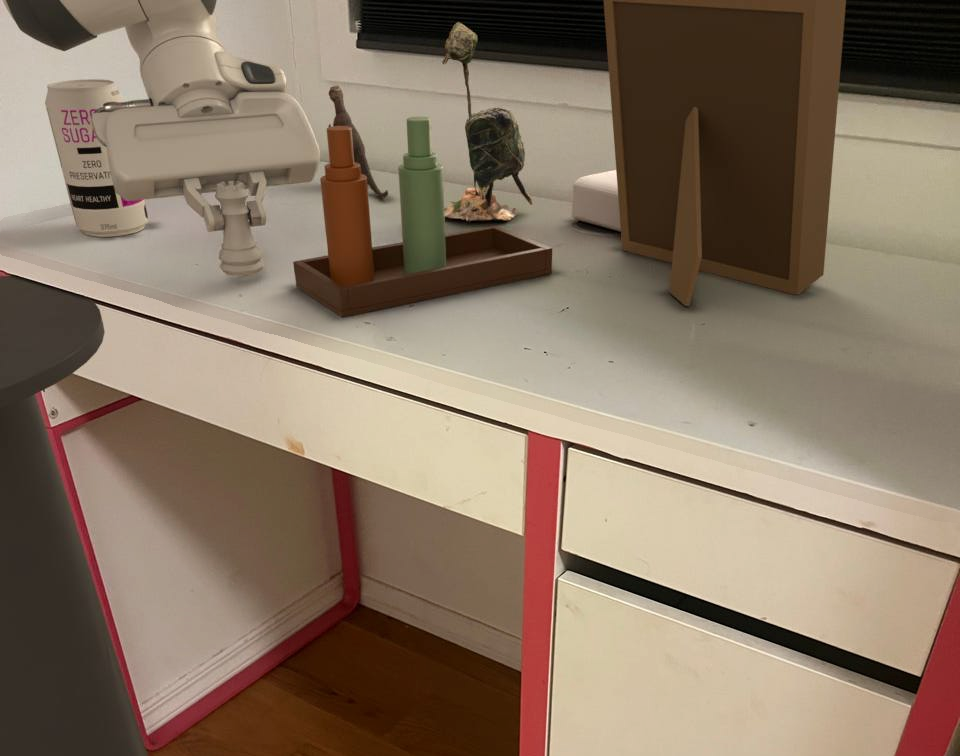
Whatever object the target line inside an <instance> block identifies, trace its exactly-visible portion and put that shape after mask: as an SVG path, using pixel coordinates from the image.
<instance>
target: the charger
mask: <svg viewBox="0 0 960 756" xmlns="http://www.w3.org/2000/svg"><path fill="white" fill-rule="evenodd" d="M571 201H572V202H571V217H572V218H573V219H574V220H576V221H580V222H584V223H587V224H591V225H594V226H598V227H600V228H601V227H602V228H605V229H608V230H612V231H616V232H619V233H621V226H620V212H619V199H618V186H617V172H616V169H613V170H608V171H603V172H598V173H594V174H593V173H592V174H589V175H584V176H581V177H579V178H577V179H576V180H575V181H574V183H573V185H572V199H571Z"/></svg>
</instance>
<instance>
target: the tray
mask: <svg viewBox="0 0 960 756" xmlns="http://www.w3.org/2000/svg"><path fill="white" fill-rule="evenodd" d="M445 247H446V267H441V268H436V269H430V270H425V271H420V272H415V273H410V274H404V257H403V241H401V242H400V241H399V242H395V243H389V244H384V245H383V244H382V245H378V246H372V252H373V265H374V278H375V280H374V281H369V282H364V283H358V284H353V285H348V286H342V285H340V284H339V283H337V282H335V281H334V280H332V279H331V277H330V268H329V258H328V254H327V255H322V256H316V257H310V258H305V259H301V260H295V261H293V262H292V263H293V271H294V279H295V288H297V289H299V291H301V292H303V293H304V294H306V295H308V297H311V298H312V299H314V300H315V301H317V302H318V303H320V304H322V305H323V306H324V307H326V308H327V309H329V310H331V311H332V312H334V313H335V314H336V315H338V316H340V317H342V318H345V317H350V316H355V315H360V314H364V313H370V312H374V311H379V310H384V309H388V308H393V307H397V306H403V305H407V304H412V303H417V302H422V301H427V300H431V299H436V298H441V297H446V296H450V295H456V294H460V293H465V292H470V291H474V290H480V289H484V288H489V287H493V286H494V287H495V286H499V285H503V284H508V283H513V282H518V281H523V280H527V279H531V278H538V277H541V276H546V275H550V274H552V270H553V247H550V246H548V245H545V244H543V243H540V242H538V241H535V240H533V239H530V238H528V237H525V236H523V235H520V234H518V233H515V232H513V231H511V230H509V229H505V228H503V227H500V226H498V225H491V226H490V225H489V226H484V227H480V228H479V227H478V228H473V229H468V230H463V231H462V230H461V231H457V232H451V233H445Z"/></svg>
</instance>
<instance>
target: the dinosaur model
mask: <svg viewBox="0 0 960 756" xmlns="http://www.w3.org/2000/svg"><path fill="white" fill-rule="evenodd" d="M328 96H329V99H330V100H331V101H332V102H333V106H334V111H335V116H334V118H333V122H332V124H331V123H329V124H328V126H327V128H328V127H332V126H349V127H351V128H352V139H353V151H354V162H355V163H359V164H360V168H361V174H363V175H366V177H367V186H369V188H370V189H371V191H372V192H373V193H374V194H375V195H376V196H378V197H379V198H380V199H381V198H382V199H385V198H387V196H388V195H389V191H388V189H386V190H385V191H384V192H382V191H381V190H380V189H379V187H378V186H377V183H376V181H375V180H374V177H373V175H372V172H371V169H370V167H369V163H368V160H367V157H366V147H365V144H364V142H363V140H362V137H361V135H360V132H359V131H358V130H357V128H356V126H355V125H354V124H353V121H352V118H351V116H350V114H349V113H348V112H347V110H346V105H345V101H344V92H343V89H342V88H341V86H339V85H333V86H330V88H329V90H328Z"/></svg>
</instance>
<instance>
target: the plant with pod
mask: <svg viewBox="0 0 960 756" xmlns="http://www.w3.org/2000/svg"><path fill="white" fill-rule="evenodd" d="M478 40H479V38H478V35H477V34H476V32H473V30H471V29H470V28H468V27H467V26H465V24H463V23H462V22H459V21H458V22H456V23H455V24H454V25H453V26H452V28H451V31H450V32H449V36H448V38H447V39H446V41H445V44H444V51H445V52H446V53H445V55H444V59H443V60H442V62H441V64H442V65H446V64H447V63H448V62H449V60H452V61H456V62H457V61H458V62H460V63H461V64H462V69H463V77H464V85H465V87H466V100H467V113H468V118H467V119H466V121H465V124H464V131H465V137H466V144H467V148H468V157H469V158H468V159H469V165H470V168H471V170H472V172H473V186H474V188H471V187H467V188H466V190H465V194H463V195H462V196H461V198H460V199H459V200H457V201H450V200H449V202H450V204H449V205H448V206H447V207H444V216H445V218H449V219H461V220H462V221H464V220H466V222H471V221H477V222H478V221H479V222H487V221H505V222H509V221H511V220H512V219H513V218H514V217H516V216H517V215H518V210H517V209H516V208H515V207H514V208H511V207H509V205H507V204H503V205H501V204H500V203H499V202H498V201H497V198H496V196H495V195H494V194H493V188H494V183H495V181H497V180H498V181H502V180H504V179H506V178H508V177H510V176H512V179H513V181H514V183H515V185H516V187H517V188H518V190H519V192H520V193H521V195H522V196H523V197H524V199H525V200H526V201H527V202H528V204H530V205H533V204H534V201H533V198H532V197H531V196H530V195H529V193H527V191H526V189H525V187H524V185H523V182H522V181H521V179H520V177H519V173H520V172H521V171H522V170H523V169H524V166H525V161H526V151H525V147H524V146H525V145H524V144H525V143H524V142H523V140H522V135H521V132H520V128H519V124H518V121H517V118H516V117H515V115H514V112H513V111H511V110H510V109H509V108H507V107H506V106H495V107H492V108H491V107H490V108H488V109H485V110H484V109H482V110H480V111H478V112H476V113H475V112H473V113H472V101H471V100H472V99H471V91H470V85H469V80H470V78H469V75H470V72H469V65H468V64H470V63H471V62H472V60H473V56H474V54H475V51H476V47H477V43H478ZM476 186H478V189H477V187H476Z"/></svg>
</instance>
